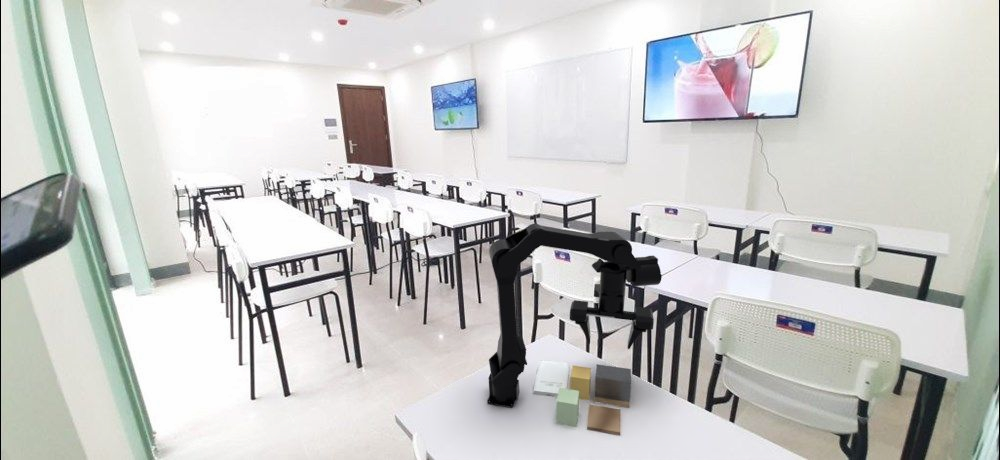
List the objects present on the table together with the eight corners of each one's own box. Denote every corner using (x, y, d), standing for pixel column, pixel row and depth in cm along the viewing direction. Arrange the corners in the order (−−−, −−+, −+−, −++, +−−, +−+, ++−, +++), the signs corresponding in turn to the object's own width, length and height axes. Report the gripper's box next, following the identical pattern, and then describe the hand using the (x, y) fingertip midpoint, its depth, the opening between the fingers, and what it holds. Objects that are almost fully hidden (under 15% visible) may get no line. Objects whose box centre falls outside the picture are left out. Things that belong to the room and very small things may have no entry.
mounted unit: (594, 401, 97) (595, 377, 95) (595, 387, 102) (596, 363, 100) (629, 407, 95) (631, 382, 93) (629, 392, 100) (630, 368, 97)
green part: (556, 423, 91) (556, 401, 89) (559, 409, 95) (559, 387, 93) (576, 426, 90) (577, 404, 88) (578, 412, 94) (579, 390, 92)
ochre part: (570, 397, 99) (570, 376, 97) (572, 385, 103) (572, 365, 101) (588, 400, 98) (589, 379, 96) (590, 388, 102) (591, 367, 100)
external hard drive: (569, 368, 110) (566, 399, 99) (539, 365, 112) (532, 395, 101) (569, 363, 110) (566, 394, 98) (539, 360, 112) (532, 390, 100)
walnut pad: (586, 429, 89) (587, 426, 89) (589, 407, 95) (589, 404, 95) (620, 435, 87) (620, 432, 87) (620, 412, 93) (620, 409, 93)
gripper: (652, 276, 99) (647, 332, 104) (575, 269, 104) (573, 323, 109) (656, 297, 89) (650, 358, 93) (570, 288, 94) (568, 347, 98)
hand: (608, 345), depth 99 cm, fingers open, 9 cm apart
